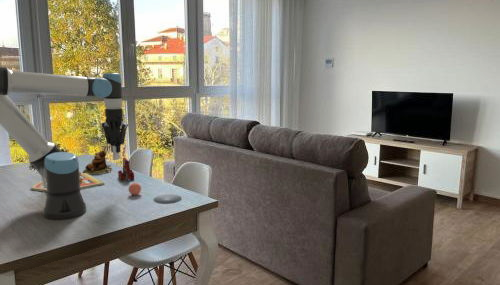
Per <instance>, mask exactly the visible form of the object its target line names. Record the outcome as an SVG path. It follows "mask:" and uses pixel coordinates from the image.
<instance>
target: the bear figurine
mask: <svg viewBox="0 0 500 285" xmlns="http://www.w3.org/2000/svg"><path fill="white" fill-rule="evenodd" d="M106 156H107V153H106V151H105V149H103V150H100V151H97V152H96V153H95V154H94V156H93V157H94V158H93V159H92V161H91V162H90V163H87V165H85V166H84V168H85V169H84V170H83V171H82V173H87V174H89V175H100V174H106V173H109V174H110V173H112V169H113V167H112V164H110V165H109V164H107V161H106Z"/></svg>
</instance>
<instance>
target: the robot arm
mask: <svg viewBox="0 0 500 285" xmlns="http://www.w3.org/2000/svg"><path fill="white" fill-rule="evenodd" d="M122 84H123V83H122V76H121V74H120V73H119V72H104V73H103V74H102V77H89V76H88V77H87V76H77V75H68V74H67V75H66V74H65V75H64V74H54V73H44V72H31V71H30V72H29V71H19V70H18V71H17V70H10V69H9V68H8V67H6V66H0V126H1V128H3V129H4V130H5V131H6V132H7V133H8V134H9V136H10V137H11V138H12V139H13V140H14V141H15V142H16V143H17V144H18V146H20V148H22V149H23V150H24V151H25V153H26V154H27V155H28V160H27V161H28V162H29V163H30V165H32V166H33V167H34V168H35V170H36V171H37V173H38V174H39V175H41V176H42V177H43V178H44V180H46V185H47V192H46V193H47V194H46V200H45V206H44V208H43V217H44V218H45V219H48V220H67V219H72V218H77V217H78V216H81V215H83V214H84V213H85V212H87V204H86V203H85V200H84V198H83V195H82V194H81V189H80V180H79V171H80V168H79V167H80V161H79V158H78V156H77V155H76V154H74V153H72V152H67V151H62V150H61V149H60V148H59V147H58V146H57V145H56V143H55V142H51V141H50V142H49V141H48V140H47V139H46V137H44V136H43V135H42V134H41V132H40V131H39V130H38V129H37V127H36V126H35V125H34V124H33V123H32V122H31V121H30V119H29V118H27V116H26V115H25V114H24V113H23V112H22V111H21V110H20V108H19V106H17V105H16V103H14V101H13V100H12V99H11V98H10V97H9V96H8V95H10V94H11V93H13V94H14V93H15V94H17V93H18V94H32V95H33V94H35V95H36V94H38V95H57V96H74V97H92V98H93V97H94V98H104V101H103V104H104V107H105V109H104V116H105V121H104V122H101V124H100V125H101V127H102V129H103V132H104V136H105V140H106V144H107V145H110V148H111V150H110V152H111V153H112V160H113V161H117V160H120V159H121V158H120V153H121V145H123V144H124V145H125V138H126V134H127V129H128V127H129V124H128V123H125V122H124V120H123V116H124V113H123V112H124V110H123V108H122V107H123V96H122V95H123V92H122V91H123V90H122V88H123V87H122Z"/></svg>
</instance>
